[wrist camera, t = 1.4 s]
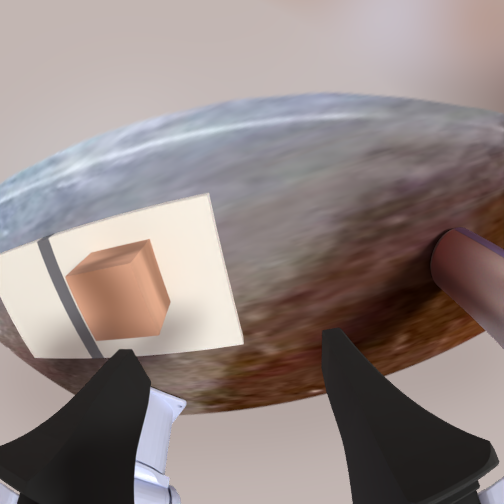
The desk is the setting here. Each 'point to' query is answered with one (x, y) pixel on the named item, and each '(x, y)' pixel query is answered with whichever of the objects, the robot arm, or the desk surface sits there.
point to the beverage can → (472, 277)
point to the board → (171, 267)
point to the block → (121, 292)
